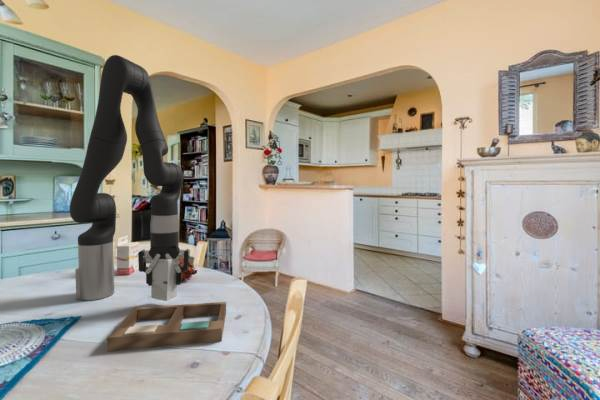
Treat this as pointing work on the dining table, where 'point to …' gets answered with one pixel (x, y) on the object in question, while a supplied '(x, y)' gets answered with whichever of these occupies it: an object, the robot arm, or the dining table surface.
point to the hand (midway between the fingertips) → (164, 284)
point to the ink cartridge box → (127, 256)
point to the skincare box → (164, 280)
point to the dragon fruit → (189, 271)
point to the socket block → (168, 327)
